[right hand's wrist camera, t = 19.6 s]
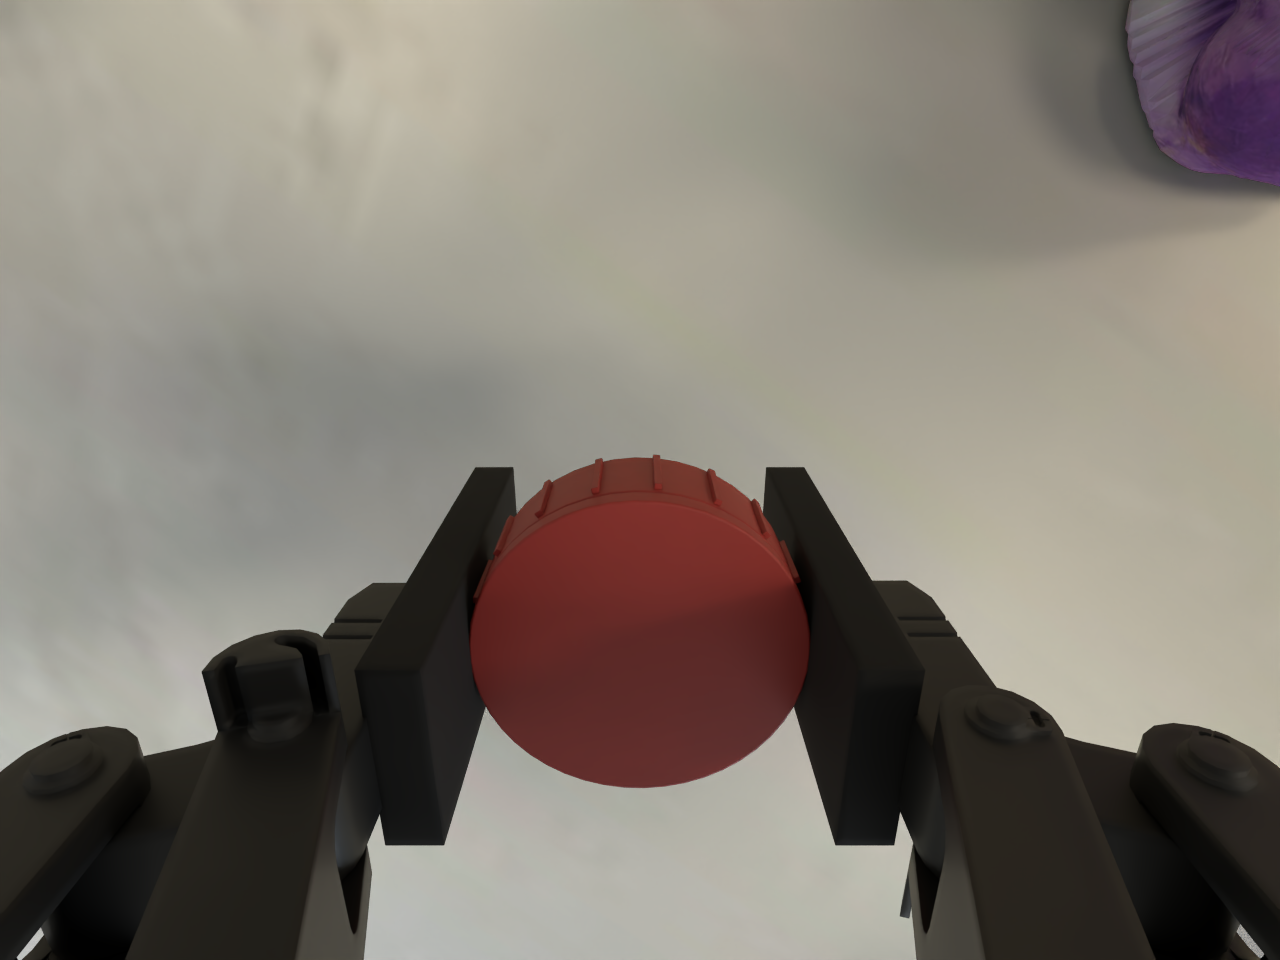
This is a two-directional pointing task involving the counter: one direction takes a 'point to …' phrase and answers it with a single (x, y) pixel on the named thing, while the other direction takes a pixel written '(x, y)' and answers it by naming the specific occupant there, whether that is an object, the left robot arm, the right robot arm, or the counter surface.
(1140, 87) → the figurine
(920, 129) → the counter surface
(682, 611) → the lid
